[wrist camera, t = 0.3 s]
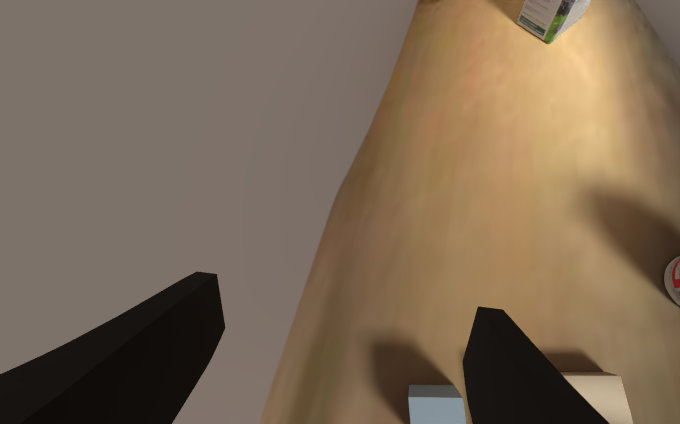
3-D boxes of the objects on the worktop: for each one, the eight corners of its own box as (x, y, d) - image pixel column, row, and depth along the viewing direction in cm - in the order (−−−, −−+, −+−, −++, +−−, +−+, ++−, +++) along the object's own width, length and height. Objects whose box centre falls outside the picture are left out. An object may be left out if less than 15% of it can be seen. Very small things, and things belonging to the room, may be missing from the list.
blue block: (460, 437, 32) (471, 461, 26) (413, 435, 32) (413, 458, 27) (454, 385, 33) (462, 397, 27) (408, 384, 34) (408, 396, 28)
